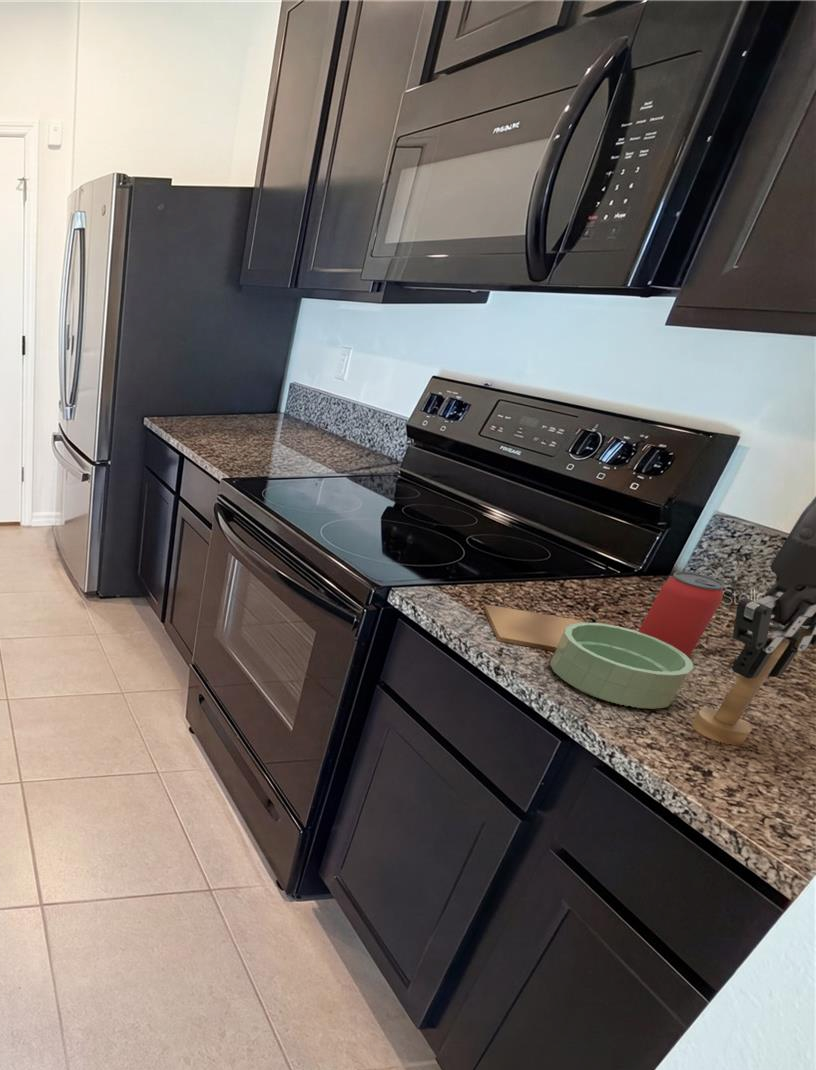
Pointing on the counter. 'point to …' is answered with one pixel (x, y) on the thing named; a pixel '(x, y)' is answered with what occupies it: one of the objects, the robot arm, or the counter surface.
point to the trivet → (527, 627)
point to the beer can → (683, 610)
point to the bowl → (620, 665)
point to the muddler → (735, 706)
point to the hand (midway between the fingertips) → (755, 673)
